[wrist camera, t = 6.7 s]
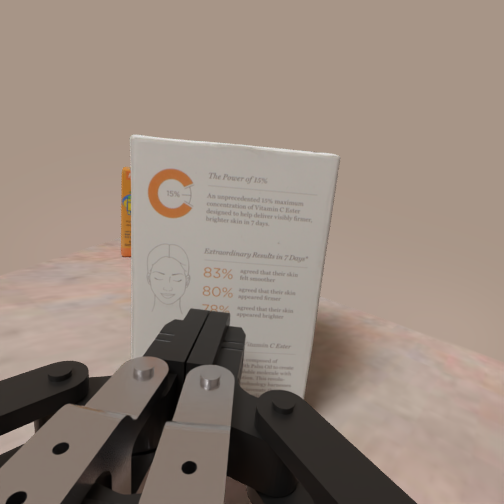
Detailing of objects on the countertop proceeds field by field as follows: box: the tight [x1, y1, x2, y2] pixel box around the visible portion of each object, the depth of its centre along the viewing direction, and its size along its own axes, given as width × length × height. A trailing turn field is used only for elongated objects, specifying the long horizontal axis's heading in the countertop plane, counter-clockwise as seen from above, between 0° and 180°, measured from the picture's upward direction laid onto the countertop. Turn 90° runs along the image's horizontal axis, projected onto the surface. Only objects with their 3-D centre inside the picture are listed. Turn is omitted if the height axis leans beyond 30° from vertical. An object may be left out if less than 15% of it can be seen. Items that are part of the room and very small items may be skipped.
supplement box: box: [121, 167, 131, 257], centre depth 40 cm, size 3×3×10 cm
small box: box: [130, 135, 340, 400], centre depth 18 cm, size 8×6×13 cm
